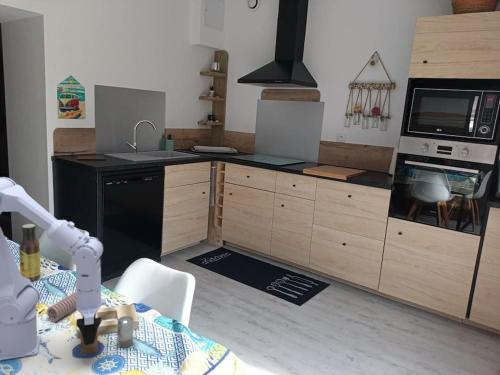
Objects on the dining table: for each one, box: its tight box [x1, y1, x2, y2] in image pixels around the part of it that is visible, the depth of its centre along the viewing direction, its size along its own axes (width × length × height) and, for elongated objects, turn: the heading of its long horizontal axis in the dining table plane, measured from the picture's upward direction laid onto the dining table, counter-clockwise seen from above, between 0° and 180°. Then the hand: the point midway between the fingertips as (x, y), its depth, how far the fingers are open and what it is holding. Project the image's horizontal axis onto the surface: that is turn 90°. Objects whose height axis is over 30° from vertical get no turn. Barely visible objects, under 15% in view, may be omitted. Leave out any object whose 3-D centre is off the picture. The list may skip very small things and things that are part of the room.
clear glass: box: [116, 316, 134, 349], centre depth 102 cm, size 4×4×7 cm
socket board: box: [76, 303, 139, 339], centre depth 110 cm, size 16×10×2 cm, turn 113°
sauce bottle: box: [18, 223, 41, 282], centre depth 132 cm, size 6×6×20 cm
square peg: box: [79, 329, 99, 356], centre depth 98 cm, size 4×4×7 cm
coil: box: [46, 291, 77, 323], centre depth 118 cm, size 5×5×18 cm
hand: (89, 335), depth 98 cm, fingers open, 7 cm apart
